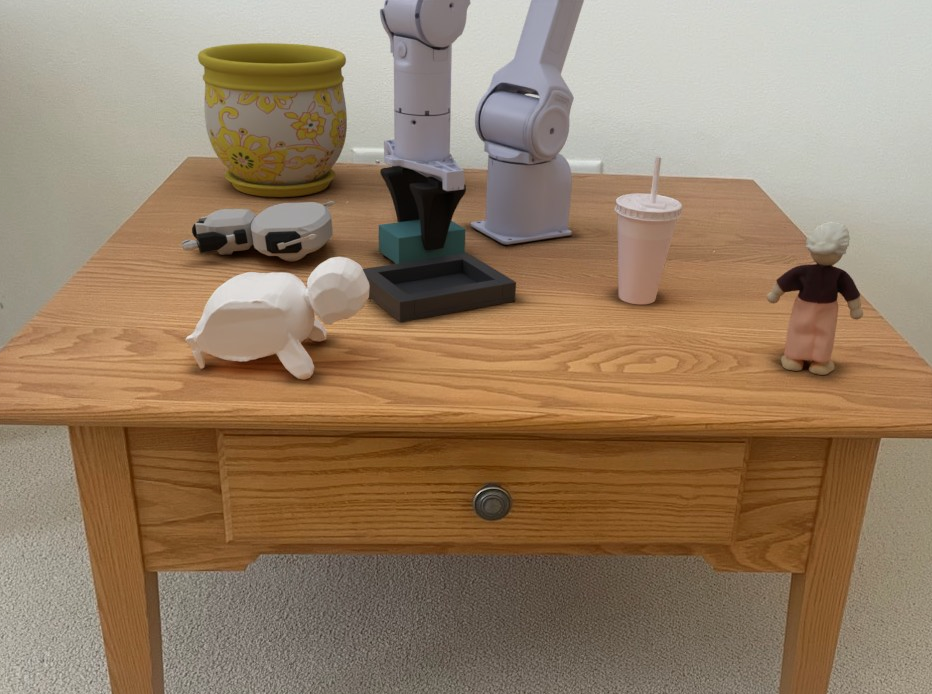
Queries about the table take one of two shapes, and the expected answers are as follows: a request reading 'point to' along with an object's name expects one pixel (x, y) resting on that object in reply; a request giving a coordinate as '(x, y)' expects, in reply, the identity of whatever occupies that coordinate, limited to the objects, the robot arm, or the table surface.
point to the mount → (437, 286)
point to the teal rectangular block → (416, 242)
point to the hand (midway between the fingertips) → (421, 240)
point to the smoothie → (644, 240)
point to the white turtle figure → (278, 314)
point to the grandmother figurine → (817, 300)
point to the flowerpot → (275, 115)
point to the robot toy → (265, 230)
